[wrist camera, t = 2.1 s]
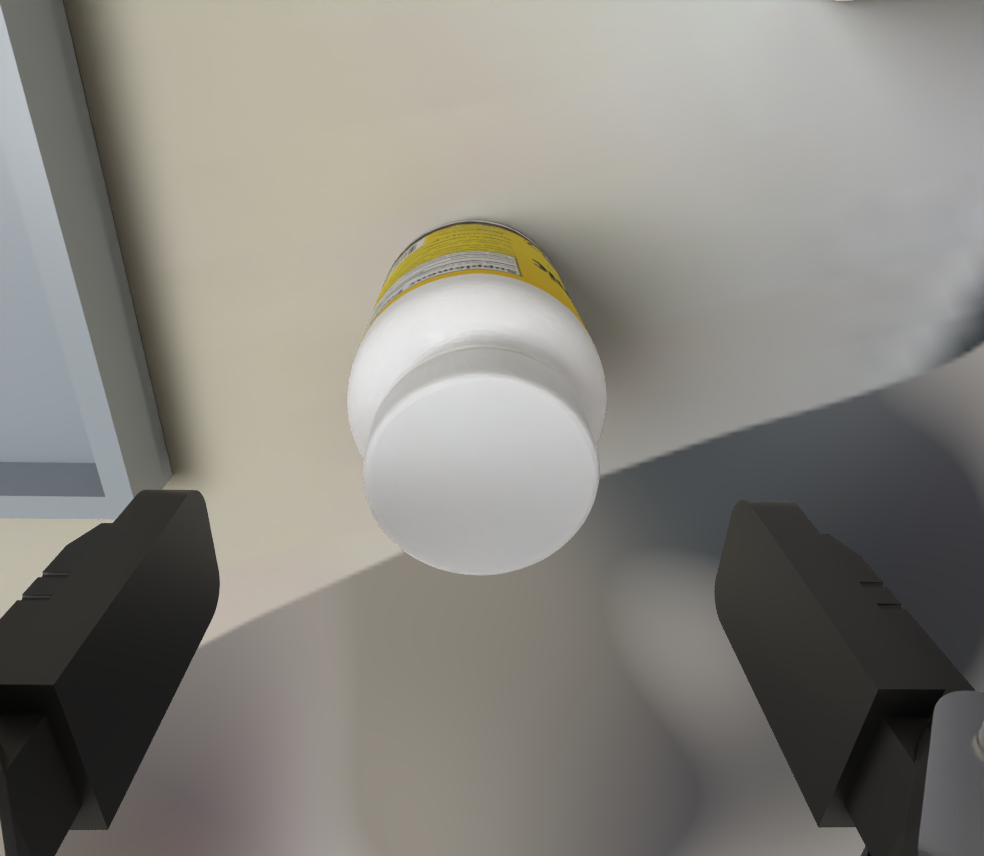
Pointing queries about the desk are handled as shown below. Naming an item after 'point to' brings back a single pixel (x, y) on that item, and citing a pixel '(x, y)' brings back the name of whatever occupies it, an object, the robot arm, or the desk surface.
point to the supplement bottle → (477, 403)
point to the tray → (63, 296)
